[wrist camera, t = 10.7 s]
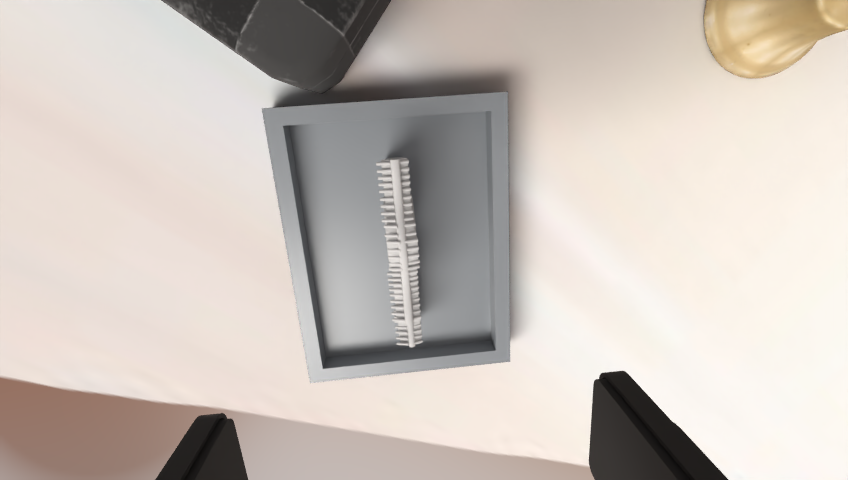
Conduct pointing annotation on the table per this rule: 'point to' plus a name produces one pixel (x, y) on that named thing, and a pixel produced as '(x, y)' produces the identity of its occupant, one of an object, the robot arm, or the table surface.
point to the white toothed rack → (401, 248)
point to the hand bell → (769, 32)
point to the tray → (365, 234)
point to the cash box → (290, 34)
